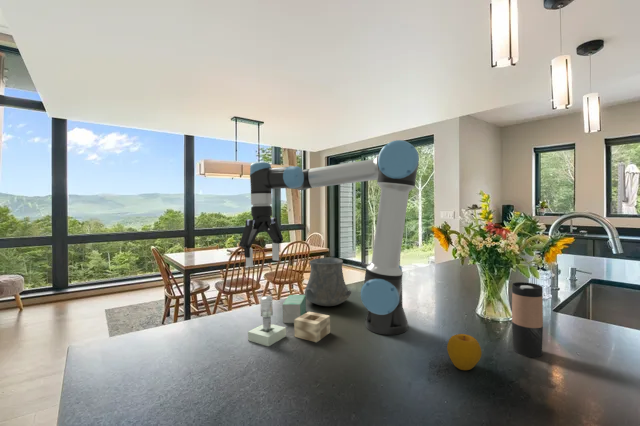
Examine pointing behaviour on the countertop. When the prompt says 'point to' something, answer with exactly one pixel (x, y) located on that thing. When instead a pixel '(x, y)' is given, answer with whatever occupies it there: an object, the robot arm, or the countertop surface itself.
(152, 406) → the countertop surface
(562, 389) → the countertop surface
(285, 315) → the box
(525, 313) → the travel mug
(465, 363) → the apple
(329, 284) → the vessel
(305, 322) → the block
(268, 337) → the stand
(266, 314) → the silver peg
